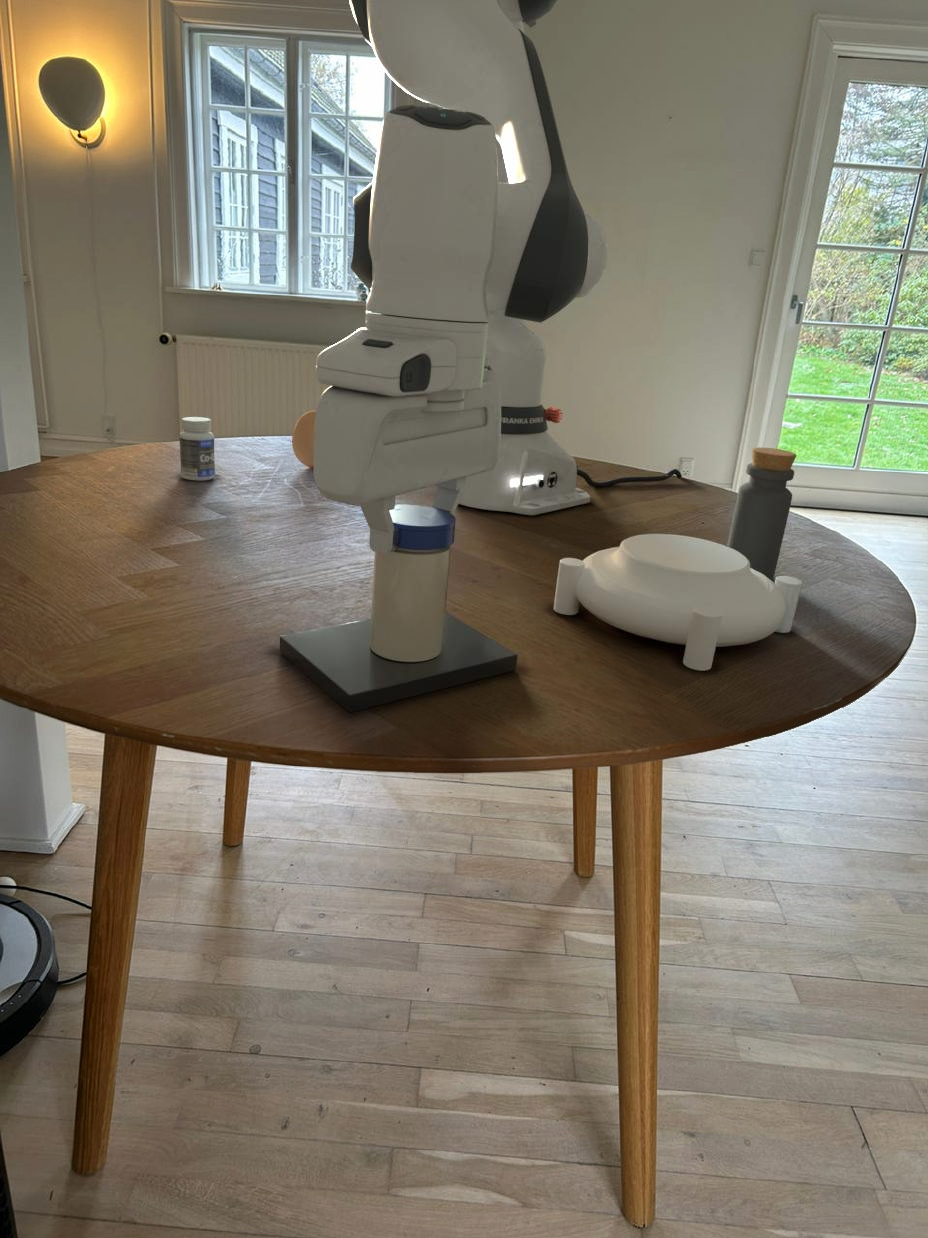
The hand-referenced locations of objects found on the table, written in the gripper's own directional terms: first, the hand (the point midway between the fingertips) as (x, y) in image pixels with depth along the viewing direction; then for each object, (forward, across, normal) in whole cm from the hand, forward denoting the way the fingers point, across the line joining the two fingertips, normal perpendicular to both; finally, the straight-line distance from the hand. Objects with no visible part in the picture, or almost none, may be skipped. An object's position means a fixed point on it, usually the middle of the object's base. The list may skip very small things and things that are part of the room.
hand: (412, 540), depth 67 cm
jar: (+9, 0, 0) cm, 9 cm away
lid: (-2, 0, 0) cm, 2 cm away
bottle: (+11, -46, +17) cm, 50 cm away
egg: (+11, -50, -53) cm, 73 cm away
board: (+11, 0, -1) cm, 11 cm away
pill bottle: (+11, -32, -59) cm, 68 cm away
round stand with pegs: (+11, -26, +14) cm, 32 cm away
